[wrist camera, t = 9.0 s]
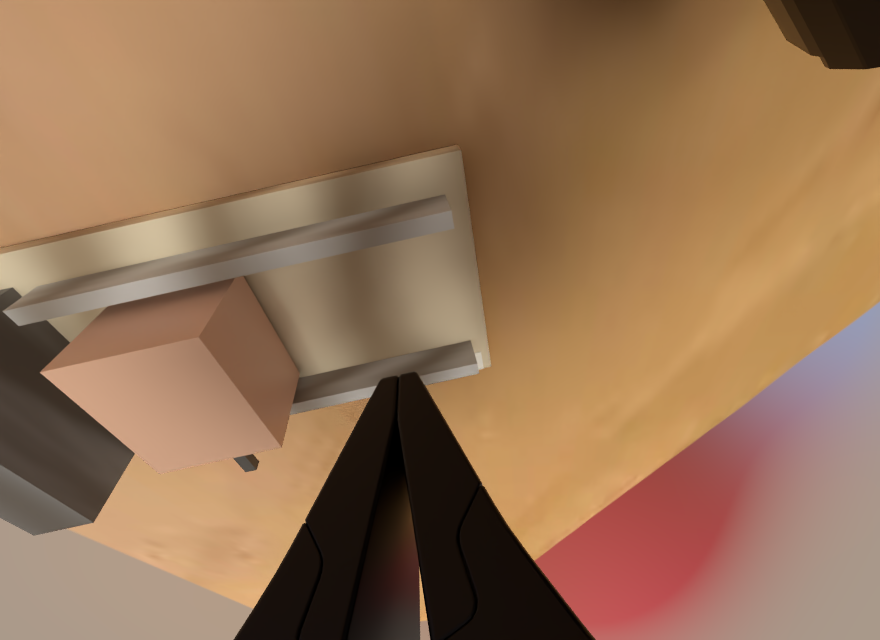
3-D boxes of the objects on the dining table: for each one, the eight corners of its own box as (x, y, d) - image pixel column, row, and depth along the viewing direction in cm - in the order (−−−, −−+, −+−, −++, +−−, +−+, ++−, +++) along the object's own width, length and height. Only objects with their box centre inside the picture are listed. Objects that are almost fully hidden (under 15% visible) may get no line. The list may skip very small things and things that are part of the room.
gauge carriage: (239, 270, 18) (198, 337, 14) (316, 401, 24) (302, 475, 20) (116, 297, 18) (39, 372, 14) (222, 421, 24) (189, 499, 20)
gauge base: (457, 144, 17) (494, 197, 11) (487, 355, 25) (518, 448, 19) (-63, 262, 17) (-280, 370, 11) (130, 434, 25) (58, 548, 19)
